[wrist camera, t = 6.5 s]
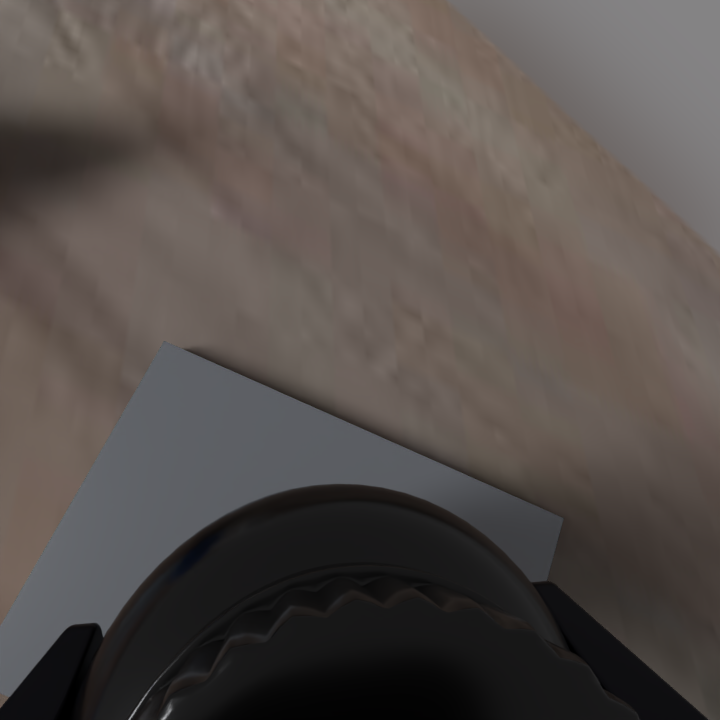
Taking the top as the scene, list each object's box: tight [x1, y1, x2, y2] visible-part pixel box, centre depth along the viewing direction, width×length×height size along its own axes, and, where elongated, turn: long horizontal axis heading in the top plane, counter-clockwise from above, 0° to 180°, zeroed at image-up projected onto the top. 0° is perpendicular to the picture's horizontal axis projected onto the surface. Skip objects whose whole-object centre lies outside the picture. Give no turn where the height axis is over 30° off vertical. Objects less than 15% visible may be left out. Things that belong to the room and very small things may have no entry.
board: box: [0, 341, 564, 697], centre depth 20 cm, size 18×13×1 cm
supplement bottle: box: [69, 484, 640, 720], centre depth 9 cm, size 7×7×12 cm
